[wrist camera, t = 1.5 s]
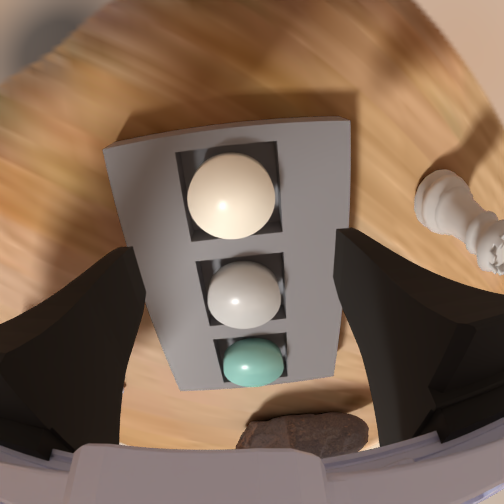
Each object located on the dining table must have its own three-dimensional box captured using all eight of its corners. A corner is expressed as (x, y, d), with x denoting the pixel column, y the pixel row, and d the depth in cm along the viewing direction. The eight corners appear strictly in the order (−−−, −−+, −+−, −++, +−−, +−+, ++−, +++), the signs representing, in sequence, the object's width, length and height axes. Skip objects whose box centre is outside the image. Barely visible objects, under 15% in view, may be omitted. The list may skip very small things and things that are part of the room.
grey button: (214, 319, 21) (213, 331, 20) (203, 264, 19) (201, 275, 18) (279, 312, 21) (281, 324, 20) (276, 256, 19) (279, 267, 18)
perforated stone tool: (367, 397, 31) (384, 449, 25) (356, 420, 34) (370, 468, 28) (229, 411, 31) (230, 469, 25) (232, 433, 33) (233, 485, 27)
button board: (182, 373, 27) (180, 390, 25) (115, 141, 17) (102, 149, 15) (328, 358, 27) (333, 375, 25) (338, 116, 17) (350, 120, 15)
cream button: (197, 233, 18) (195, 243, 17) (184, 158, 16) (180, 163, 15) (274, 225, 18) (277, 234, 17) (269, 148, 16) (272, 153, 15)
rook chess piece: (465, 170, 19) (541, 218, 12) (452, 226, 21) (515, 287, 14) (416, 163, 18) (494, 214, 12) (405, 225, 21) (467, 293, 14)
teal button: (228, 377, 25) (228, 389, 24) (219, 340, 22) (219, 353, 21) (282, 372, 25) (284, 383, 24) (280, 334, 23) (283, 346, 21)
